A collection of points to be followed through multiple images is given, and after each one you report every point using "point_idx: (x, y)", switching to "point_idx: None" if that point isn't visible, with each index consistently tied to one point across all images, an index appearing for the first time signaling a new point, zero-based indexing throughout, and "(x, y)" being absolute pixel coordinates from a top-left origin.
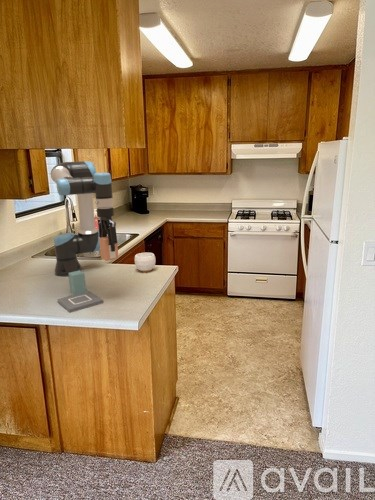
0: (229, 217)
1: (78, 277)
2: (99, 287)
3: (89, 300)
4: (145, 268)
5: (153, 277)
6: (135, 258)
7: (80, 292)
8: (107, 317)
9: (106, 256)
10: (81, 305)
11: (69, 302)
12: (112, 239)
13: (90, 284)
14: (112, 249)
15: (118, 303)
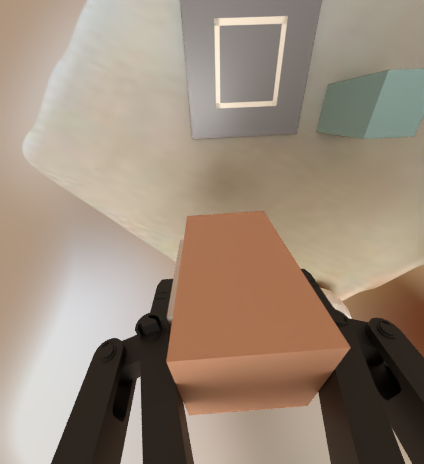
0: None
1: (364, 105)
2: (310, 178)
3: (215, 95)
4: None
5: None
6: (336, 307)
7: (323, 108)
8: (74, 97)
9: (185, 231)
10: (189, 43)
11: (250, 6)
12: (77, 405)
13: (355, 167)
14: (155, 294)
15: (164, 171)
